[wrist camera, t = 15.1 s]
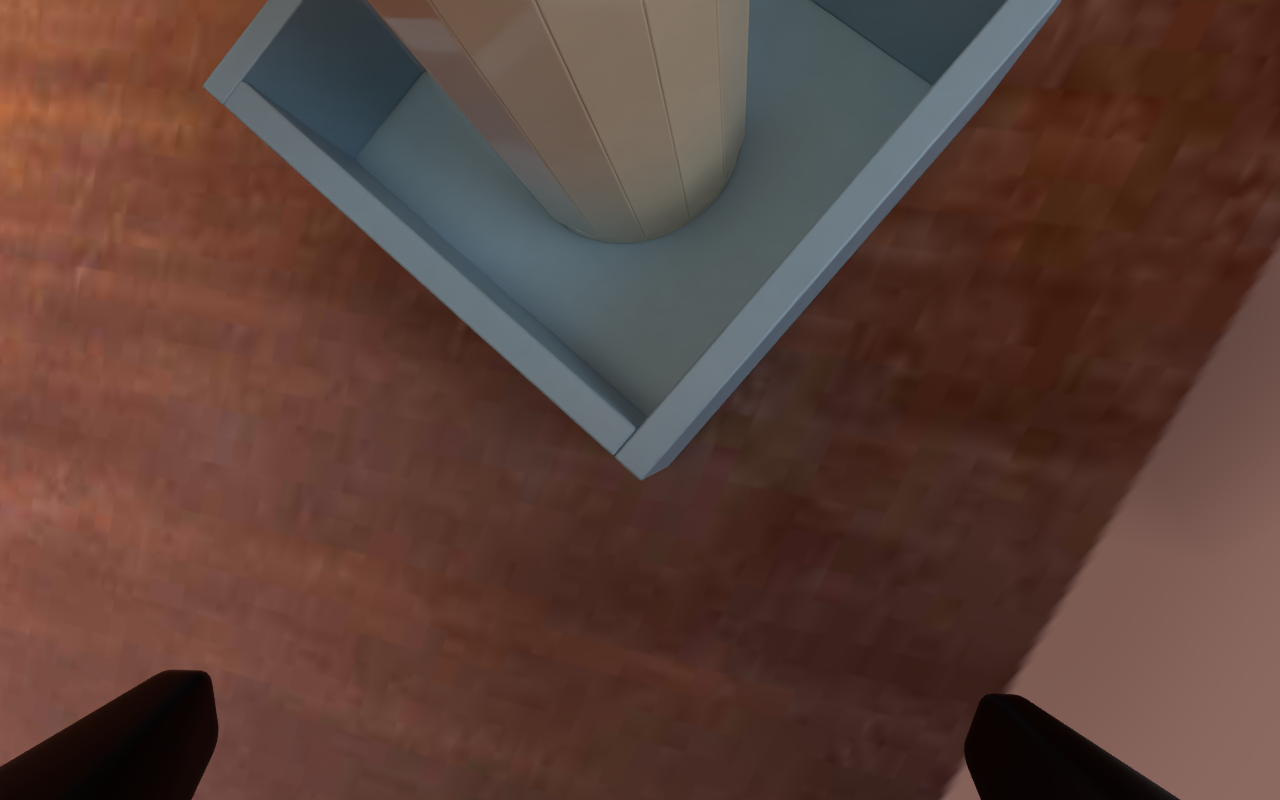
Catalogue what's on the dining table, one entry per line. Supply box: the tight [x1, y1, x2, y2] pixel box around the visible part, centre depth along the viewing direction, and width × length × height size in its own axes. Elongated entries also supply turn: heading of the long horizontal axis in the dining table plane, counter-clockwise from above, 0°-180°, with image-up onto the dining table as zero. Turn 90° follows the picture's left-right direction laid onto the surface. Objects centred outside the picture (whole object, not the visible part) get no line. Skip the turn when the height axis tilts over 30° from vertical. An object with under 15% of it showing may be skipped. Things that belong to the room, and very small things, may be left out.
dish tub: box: [203, 0, 1062, 480], centre depth 16 cm, size 15×14×5 cm
